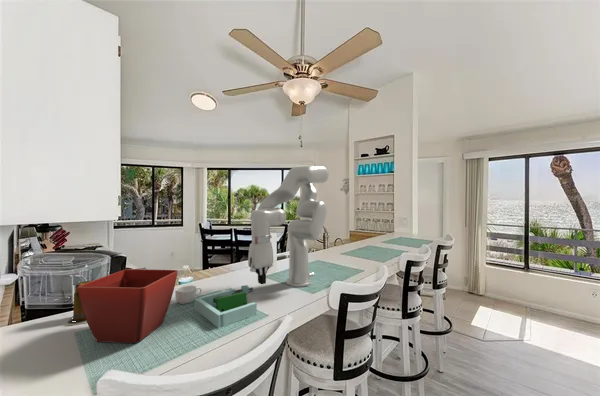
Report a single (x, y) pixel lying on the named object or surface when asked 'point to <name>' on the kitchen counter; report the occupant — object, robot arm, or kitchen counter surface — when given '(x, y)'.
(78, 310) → the condiment
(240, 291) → the cable
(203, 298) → the end holder
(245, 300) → the clamp
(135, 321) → the plant pot
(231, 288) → the clip
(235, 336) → the kitchen counter surface
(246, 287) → the clip
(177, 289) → the teacup
